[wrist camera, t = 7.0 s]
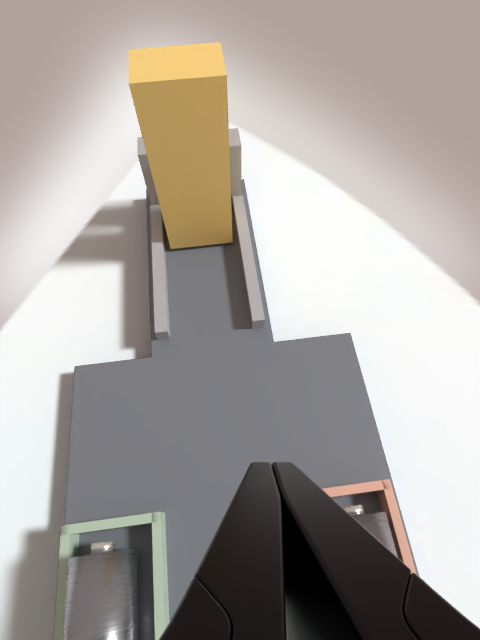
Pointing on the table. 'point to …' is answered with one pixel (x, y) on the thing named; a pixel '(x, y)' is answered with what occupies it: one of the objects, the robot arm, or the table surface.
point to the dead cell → (374, 525)
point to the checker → (210, 417)
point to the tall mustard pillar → (186, 138)
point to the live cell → (102, 595)
